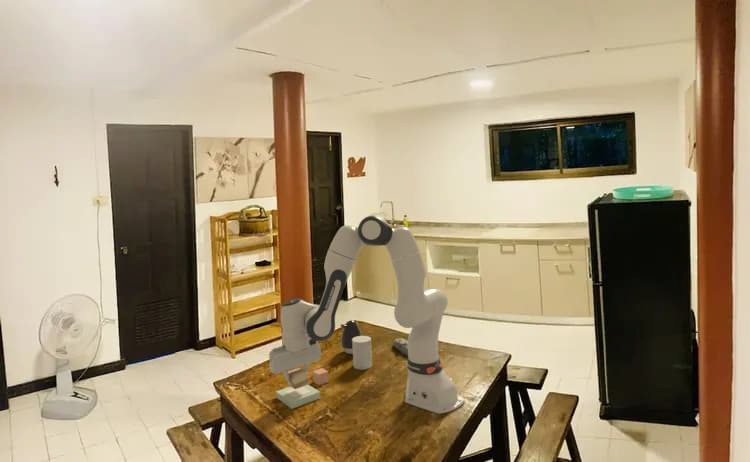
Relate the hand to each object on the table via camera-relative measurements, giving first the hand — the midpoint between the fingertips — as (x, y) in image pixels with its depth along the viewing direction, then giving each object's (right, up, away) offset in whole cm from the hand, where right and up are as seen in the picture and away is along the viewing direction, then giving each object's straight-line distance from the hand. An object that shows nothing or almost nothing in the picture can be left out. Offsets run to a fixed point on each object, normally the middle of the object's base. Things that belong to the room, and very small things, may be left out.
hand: (296, 377), depth 182 cm
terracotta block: (+8, -6, +14) cm, 17 cm away
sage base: (0, -8, +1) cm, 8 cm away
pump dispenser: (+19, -2, +44) cm, 48 cm away
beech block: (0, -3, 0) cm, 3 cm away
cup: (+24, -3, +28) cm, 37 cm away
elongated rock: (+48, -2, +37) cm, 61 cm away
